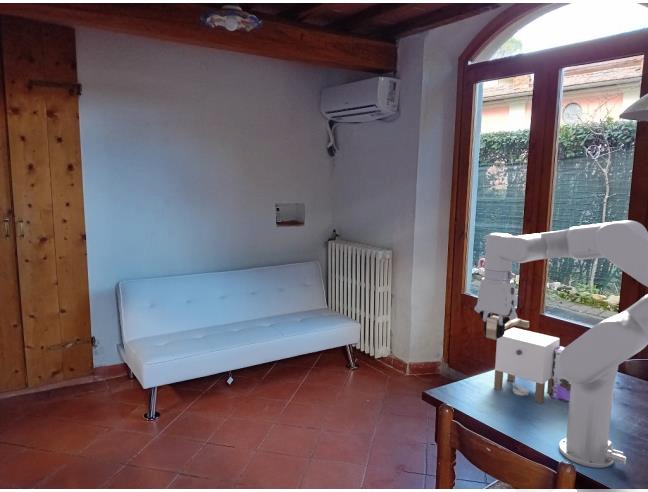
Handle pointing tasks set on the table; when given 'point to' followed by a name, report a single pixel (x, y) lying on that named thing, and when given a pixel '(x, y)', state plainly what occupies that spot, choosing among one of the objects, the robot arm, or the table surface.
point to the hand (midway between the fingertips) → (493, 334)
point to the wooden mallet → (494, 321)
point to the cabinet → (526, 359)
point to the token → (520, 391)
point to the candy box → (560, 380)
